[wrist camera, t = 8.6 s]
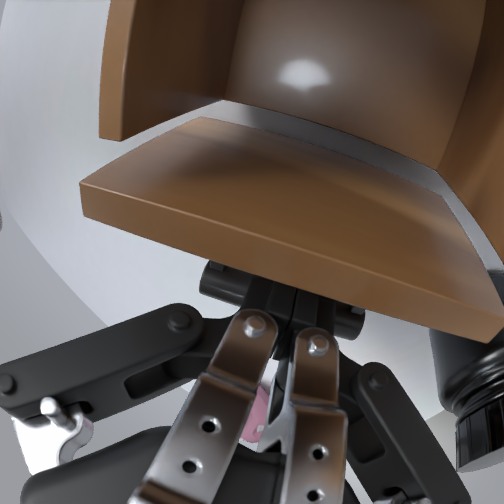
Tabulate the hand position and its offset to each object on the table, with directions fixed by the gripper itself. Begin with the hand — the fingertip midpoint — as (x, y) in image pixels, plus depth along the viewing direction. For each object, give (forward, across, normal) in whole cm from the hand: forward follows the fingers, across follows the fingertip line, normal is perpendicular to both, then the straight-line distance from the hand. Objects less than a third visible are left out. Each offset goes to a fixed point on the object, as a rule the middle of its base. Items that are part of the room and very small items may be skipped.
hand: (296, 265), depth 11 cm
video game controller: (+6, -2, +26) cm, 27 cm away
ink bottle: (+6, -16, +4) cm, 18 cm away
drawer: (+5, 0, -7) cm, 9 cm away
